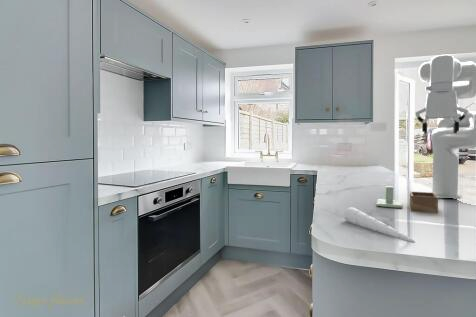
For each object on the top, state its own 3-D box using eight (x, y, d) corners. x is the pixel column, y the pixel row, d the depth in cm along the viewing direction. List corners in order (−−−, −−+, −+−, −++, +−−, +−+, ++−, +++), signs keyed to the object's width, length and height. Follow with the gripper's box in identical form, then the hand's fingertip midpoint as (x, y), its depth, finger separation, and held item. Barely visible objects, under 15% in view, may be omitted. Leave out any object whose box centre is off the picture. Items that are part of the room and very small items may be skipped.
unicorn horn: (403, 245, 74) (403, 225, 74) (342, 222, 97) (342, 207, 97) (418, 243, 75) (419, 224, 75) (354, 221, 98) (355, 206, 98)
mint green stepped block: (378, 203, 126) (378, 184, 126) (401, 205, 122) (402, 185, 122) (376, 208, 116) (376, 187, 116) (402, 210, 112) (402, 189, 112)
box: (409, 207, 118) (409, 191, 118) (434, 208, 115) (434, 192, 114) (410, 212, 108) (411, 195, 108) (437, 214, 105) (438, 197, 105)
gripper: (415, 89, 119) (414, 133, 120) (471, 85, 111) (469, 132, 112) (414, 92, 126) (413, 134, 126) (466, 88, 118) (465, 133, 118)
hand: (440, 133), depth 119 cm, fingers open, 9 cm apart
